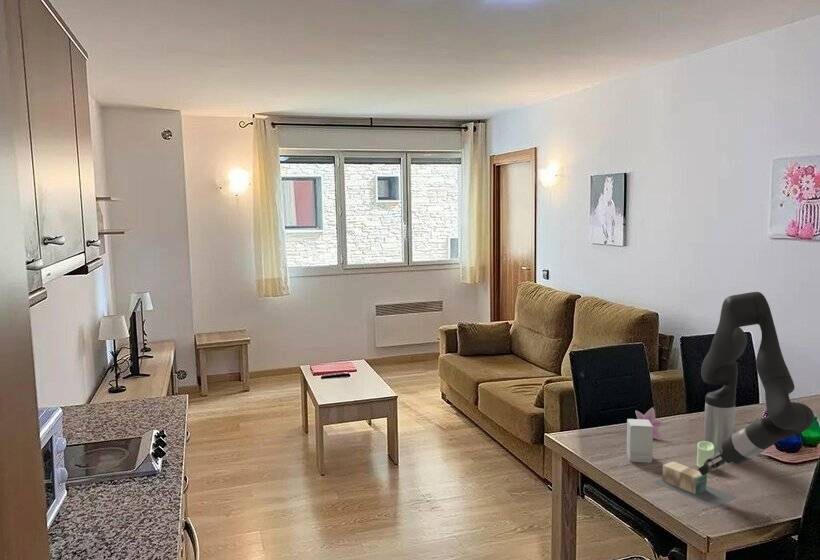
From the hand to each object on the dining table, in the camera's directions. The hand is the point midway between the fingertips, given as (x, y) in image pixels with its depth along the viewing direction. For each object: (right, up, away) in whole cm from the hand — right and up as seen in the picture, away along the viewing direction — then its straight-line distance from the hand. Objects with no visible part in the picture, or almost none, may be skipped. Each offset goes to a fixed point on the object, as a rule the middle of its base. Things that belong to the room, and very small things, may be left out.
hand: (701, 471), depth 178 cm
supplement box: (-8, -4, +27) cm, 29 cm away
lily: (+2, -2, +47) cm, 47 cm away
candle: (+10, -5, +19) cm, 22 cm away
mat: (-1, -7, +3) cm, 7 cm away
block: (0, -4, 0) cm, 4 cm away
